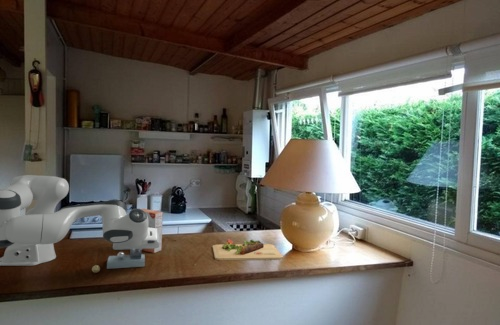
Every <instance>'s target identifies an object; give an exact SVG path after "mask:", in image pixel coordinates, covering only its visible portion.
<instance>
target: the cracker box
mask: <svg viewBox="0 0 500 325" xmlns="http://www.w3.org/2000/svg"><path fill="white" fill-rule="evenodd" d="M140 209H141V210H143V211H144V212H145V213H146V214H147V216H148V222H149V223H148V227H151V228H156V229H157V231H158V234H159V239H160V247H158V248H146V249H142V251H144V252H147V253H151V254H155V253H158V252H162V246H163V245H162V244H163V242H162V241H163V215H164V214H163V213H164V212H163V211H159V210H153V209H146V208H140Z"/></svg>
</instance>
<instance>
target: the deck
mask: <svg viewBox="0 0 500 325" xmlns="http://www.w3.org/2000/svg"><path fill="white" fill-rule="evenodd" d="M145 266H146V257H145V253H144V254H143V253H141V257H130V254H125V256H124V258H123V259H119V258H118V257H117V255H109V256H108V258H107V262H106V270H107V269H109V270H111V269H123V268H137V267H139V268H140V267H141V268H142V267H145Z"/></svg>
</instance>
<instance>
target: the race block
mask: <svg viewBox="0 0 500 325" xmlns="http://www.w3.org/2000/svg"><path fill="white" fill-rule="evenodd" d="M142 251H143V250H140V252H137V249H136V252H133V251H132V250H131V249H129V252H130V253H129V255H130V257H141V254H143V253H142Z"/></svg>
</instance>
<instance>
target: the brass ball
mask: <svg viewBox="0 0 500 325" xmlns="http://www.w3.org/2000/svg"><path fill="white" fill-rule="evenodd" d="M91 271H92V273H94V274H96V273H99V272H100V271H101V267H100V265H97V264H95V265H94V266H92V268H91Z"/></svg>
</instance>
